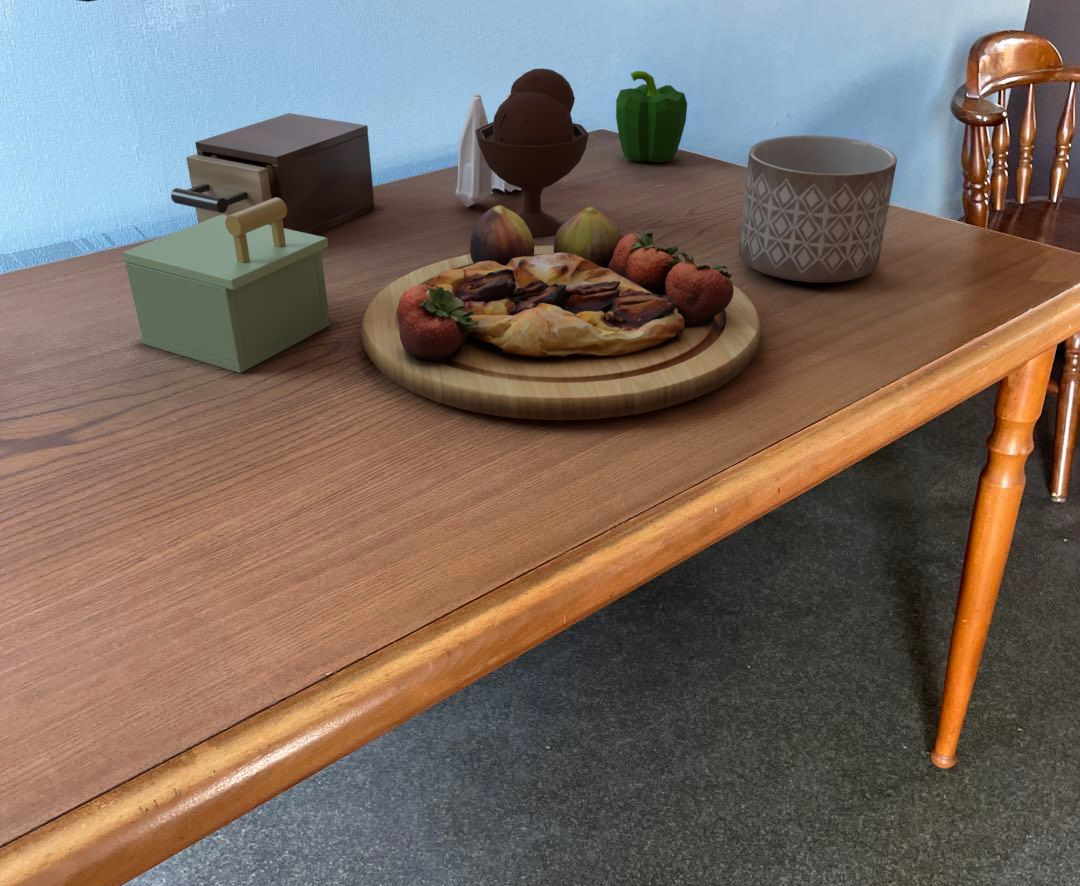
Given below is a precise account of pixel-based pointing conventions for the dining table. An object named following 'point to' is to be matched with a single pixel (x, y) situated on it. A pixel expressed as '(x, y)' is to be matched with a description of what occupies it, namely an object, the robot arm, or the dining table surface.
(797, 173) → the planter
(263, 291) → the chest
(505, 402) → the wooden plate
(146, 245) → the chest lid
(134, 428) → the dining table surface
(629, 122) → the bell pepper
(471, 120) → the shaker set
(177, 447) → the dining table surface
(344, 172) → the cabinet
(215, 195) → the drawer
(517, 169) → the ice cream bowl
